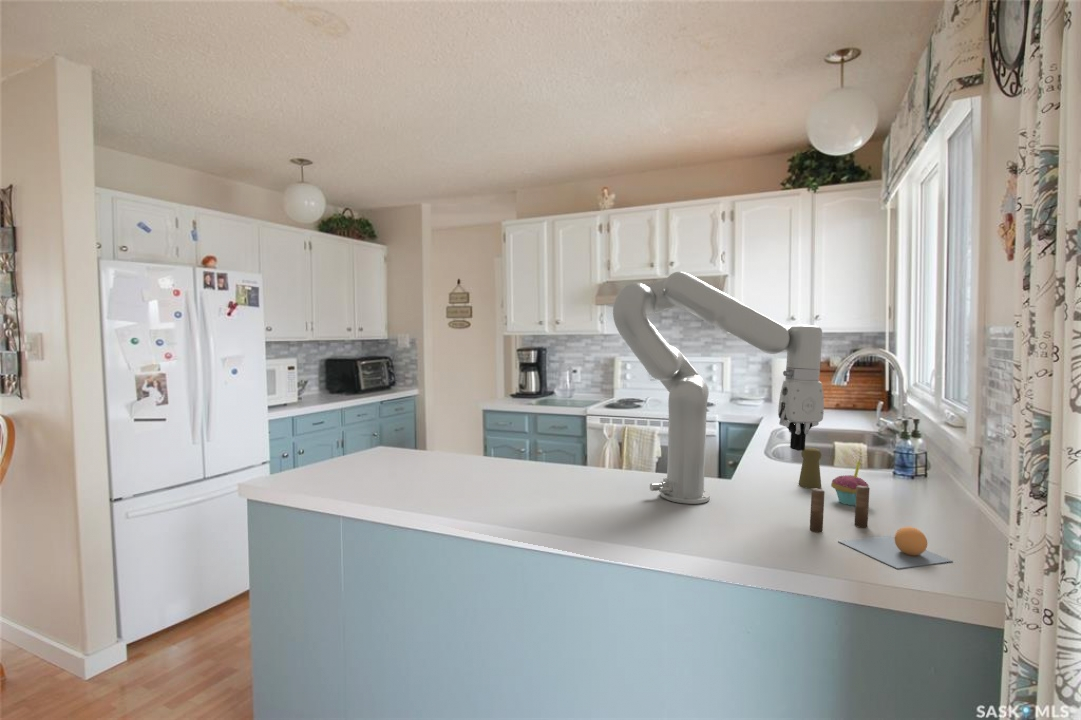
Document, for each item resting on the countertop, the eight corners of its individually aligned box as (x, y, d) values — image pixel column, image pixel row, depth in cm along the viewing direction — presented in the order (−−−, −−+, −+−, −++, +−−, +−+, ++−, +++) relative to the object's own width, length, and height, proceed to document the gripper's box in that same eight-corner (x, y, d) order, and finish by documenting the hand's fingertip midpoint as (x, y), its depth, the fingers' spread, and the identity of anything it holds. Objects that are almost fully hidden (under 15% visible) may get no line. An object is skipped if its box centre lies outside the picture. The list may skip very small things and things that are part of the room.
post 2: (861, 528, 129) (863, 489, 129) (851, 524, 132) (853, 485, 131) (870, 527, 130) (872, 488, 130) (860, 523, 133) (862, 485, 132)
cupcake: (864, 500, 151) (866, 455, 151) (871, 509, 143) (873, 462, 143) (828, 496, 154) (830, 452, 153) (833, 505, 146) (835, 459, 145)
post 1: (815, 532, 126) (817, 492, 125) (807, 528, 128) (808, 489, 128) (825, 531, 126) (827, 491, 126) (816, 527, 129) (818, 488, 128)
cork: (816, 483, 167) (818, 446, 167) (824, 489, 161) (826, 450, 161) (795, 482, 168) (797, 445, 167) (802, 488, 162) (804, 449, 161)
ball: (918, 543, 110) (895, 523, 114) (905, 563, 112) (883, 542, 117) (938, 539, 112) (915, 519, 116) (926, 559, 114) (903, 538, 119)
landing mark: (897, 569, 107) (897, 568, 107) (838, 542, 120) (838, 541, 120) (952, 561, 111) (952, 560, 111) (890, 536, 125) (890, 535, 125)
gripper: (787, 376, 134) (782, 453, 135) (839, 377, 139) (833, 452, 140) (766, 373, 141) (761, 446, 143) (815, 374, 146) (811, 445, 147)
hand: (797, 449), depth 141 cm, fingers closed
